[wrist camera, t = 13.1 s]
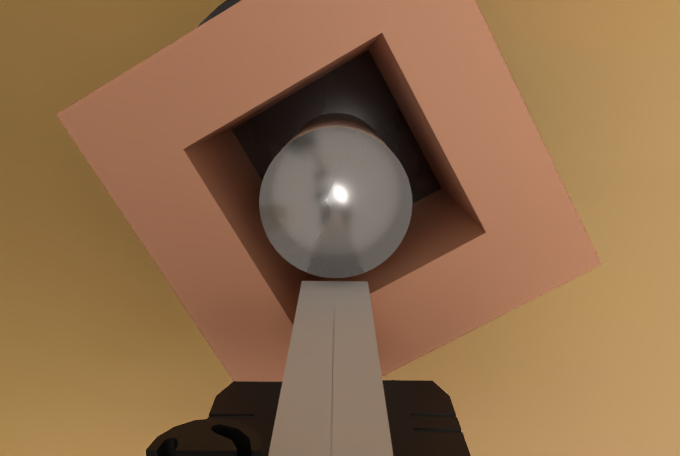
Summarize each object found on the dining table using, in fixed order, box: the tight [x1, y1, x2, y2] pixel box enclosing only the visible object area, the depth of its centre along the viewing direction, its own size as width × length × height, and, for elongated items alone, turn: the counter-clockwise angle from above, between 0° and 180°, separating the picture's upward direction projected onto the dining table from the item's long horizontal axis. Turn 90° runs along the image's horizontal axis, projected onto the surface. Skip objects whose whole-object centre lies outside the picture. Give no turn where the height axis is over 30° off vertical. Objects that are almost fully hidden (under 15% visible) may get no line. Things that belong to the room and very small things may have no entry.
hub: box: [198, 0, 441, 278], centre depth 17 cm, size 12×12×10 cm
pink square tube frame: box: [56, 0, 601, 382], centre depth 16 cm, size 9×9×6 cm
